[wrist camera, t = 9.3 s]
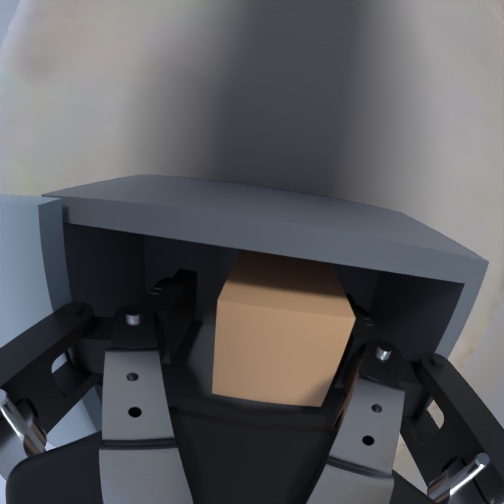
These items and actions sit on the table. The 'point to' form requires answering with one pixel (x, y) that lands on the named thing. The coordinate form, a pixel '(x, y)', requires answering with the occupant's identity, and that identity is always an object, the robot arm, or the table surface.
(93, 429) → the lid
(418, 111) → the table surface
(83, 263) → the housing
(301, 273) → the light orange block
